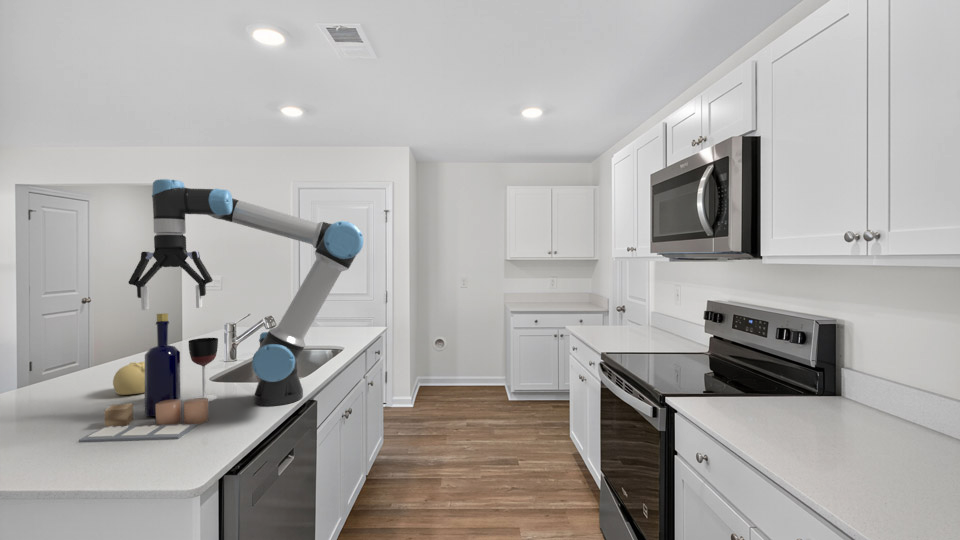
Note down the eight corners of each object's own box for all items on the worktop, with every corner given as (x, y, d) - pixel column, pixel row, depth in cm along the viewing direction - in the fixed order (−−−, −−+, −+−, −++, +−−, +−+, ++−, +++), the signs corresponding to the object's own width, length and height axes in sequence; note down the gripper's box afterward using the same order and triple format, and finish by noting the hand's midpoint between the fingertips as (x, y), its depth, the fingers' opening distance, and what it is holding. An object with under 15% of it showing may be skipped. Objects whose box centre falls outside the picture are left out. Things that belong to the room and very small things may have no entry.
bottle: (162, 416, 130) (161, 313, 132) (135, 416, 131) (135, 314, 133) (188, 408, 139) (187, 312, 141) (163, 408, 140) (163, 313, 142)
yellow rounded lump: (162, 391, 157) (162, 361, 157) (121, 400, 147) (120, 368, 147) (148, 386, 164) (147, 357, 163) (107, 394, 153) (107, 363, 153)
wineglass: (183, 401, 147) (182, 341, 146) (207, 393, 155) (207, 337, 154) (199, 404, 144) (199, 343, 143) (224, 396, 152) (223, 338, 151)
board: (196, 425, 126) (196, 423, 126) (178, 438, 117) (178, 435, 117) (104, 428, 123) (104, 425, 123) (79, 442, 114) (79, 439, 114)
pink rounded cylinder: (185, 419, 131) (185, 399, 131) (173, 426, 125) (173, 405, 125) (163, 419, 130) (163, 399, 130) (150, 427, 124) (150, 406, 124)
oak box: (133, 420, 130) (132, 403, 130) (126, 426, 125) (126, 408, 125) (112, 422, 128) (111, 405, 128) (104, 428, 123) (104, 410, 123)
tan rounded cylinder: (212, 417, 133) (212, 397, 133) (201, 424, 127) (201, 403, 127) (190, 417, 132) (190, 397, 132) (179, 425, 126) (179, 404, 126)
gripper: (222, 235, 134) (224, 305, 134) (125, 235, 127) (128, 308, 128) (214, 234, 126) (217, 308, 127) (111, 234, 120) (114, 311, 121)
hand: (172, 308), depth 128 cm, fingers open, 13 cm apart
